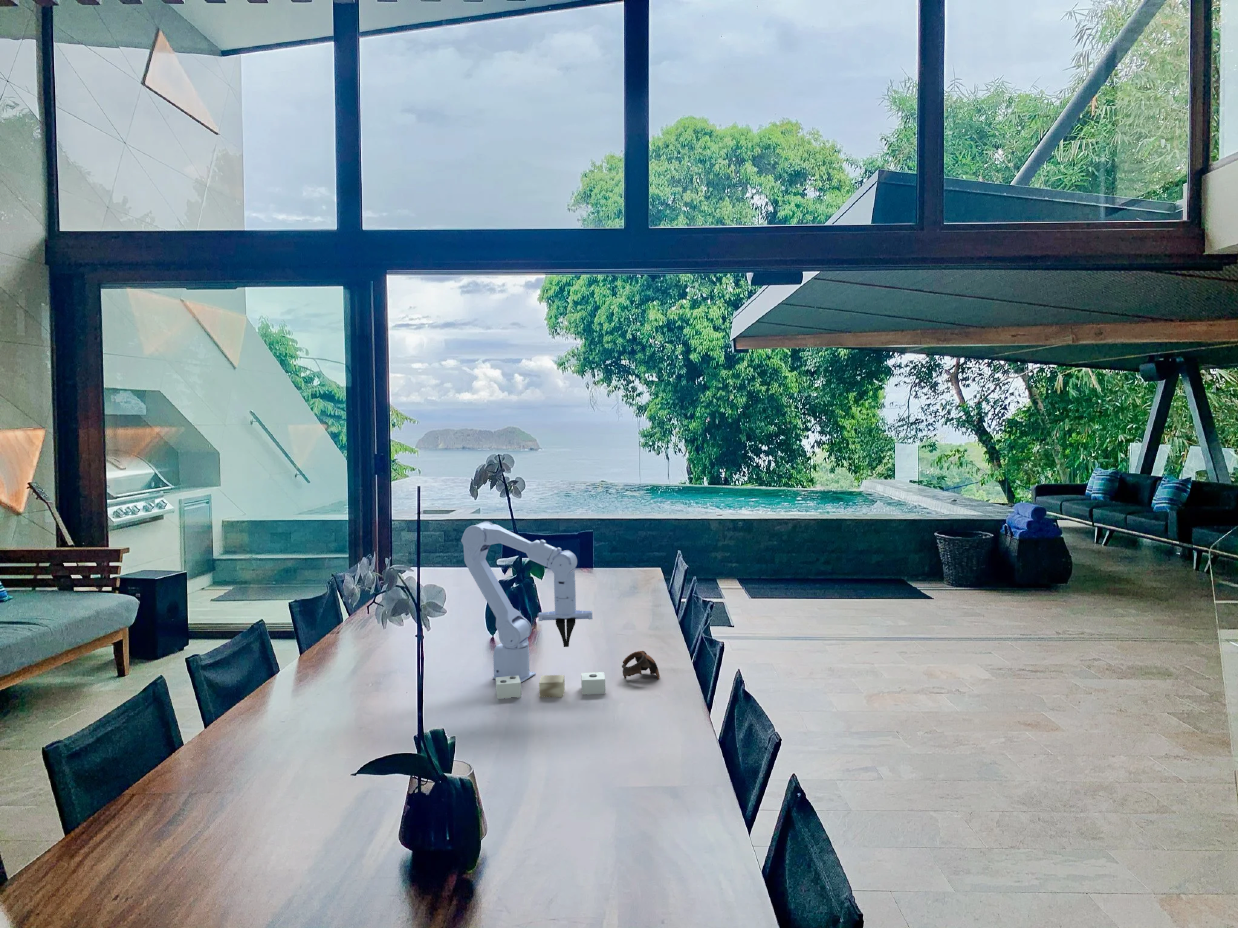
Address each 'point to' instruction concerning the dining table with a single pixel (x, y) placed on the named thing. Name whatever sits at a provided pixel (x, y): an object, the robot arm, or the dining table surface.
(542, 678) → the maple block
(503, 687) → the two-dot block
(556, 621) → the robot arm
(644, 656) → the rusty brown arched frame
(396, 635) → the dining table surface
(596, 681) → the one-dot block
